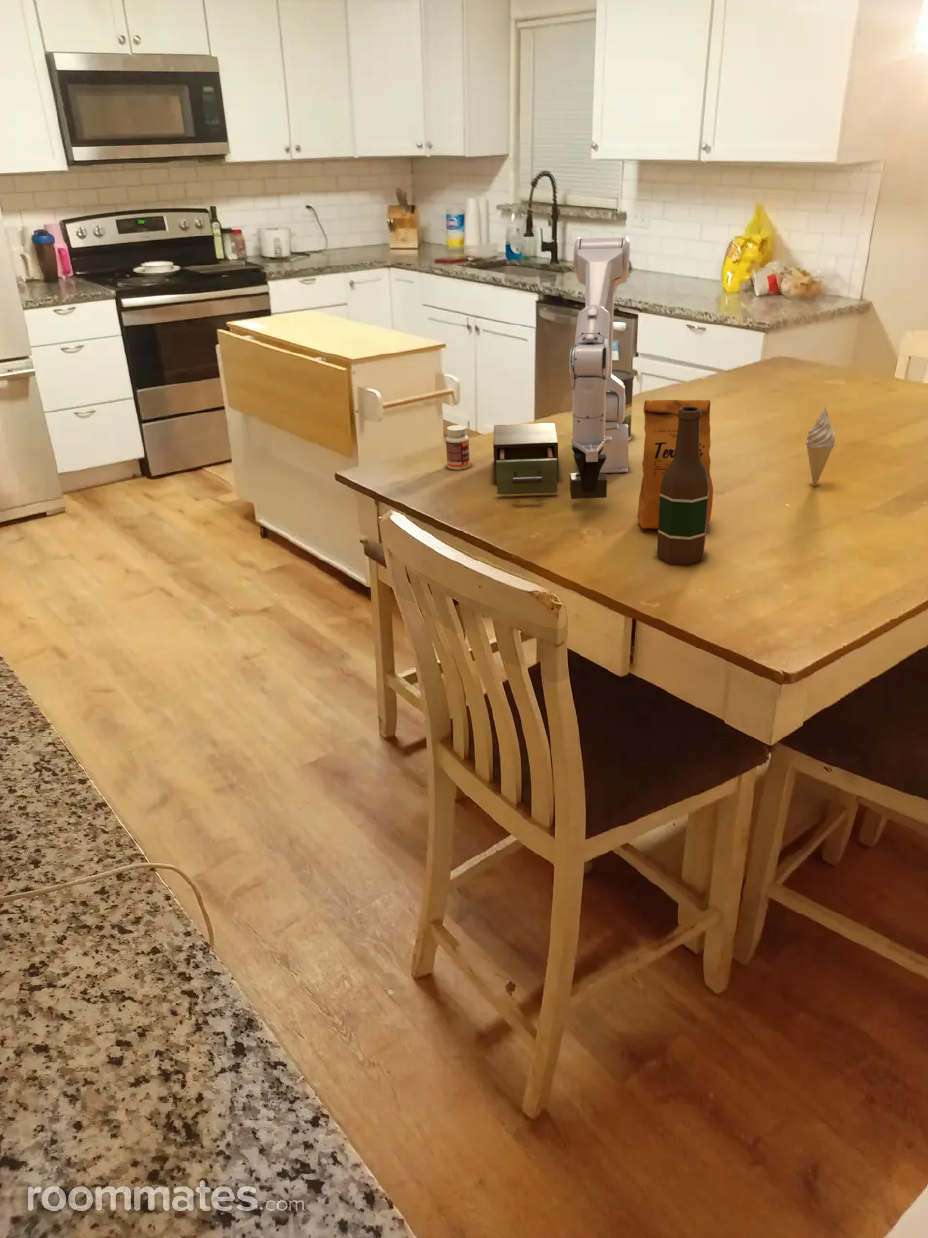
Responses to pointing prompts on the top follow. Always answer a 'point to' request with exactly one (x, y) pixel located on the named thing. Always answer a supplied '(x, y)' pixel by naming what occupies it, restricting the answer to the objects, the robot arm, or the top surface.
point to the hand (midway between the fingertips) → (588, 487)
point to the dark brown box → (578, 493)
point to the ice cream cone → (820, 445)
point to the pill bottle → (457, 447)
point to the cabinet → (524, 438)
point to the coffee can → (626, 395)
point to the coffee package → (667, 452)
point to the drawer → (526, 470)
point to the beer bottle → (684, 496)
